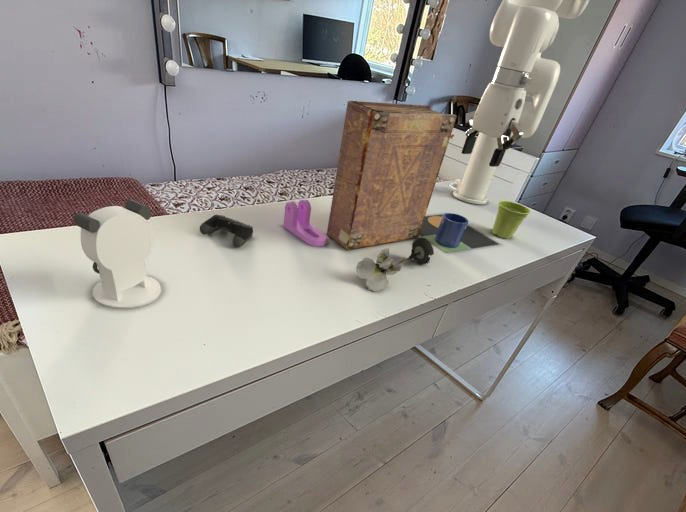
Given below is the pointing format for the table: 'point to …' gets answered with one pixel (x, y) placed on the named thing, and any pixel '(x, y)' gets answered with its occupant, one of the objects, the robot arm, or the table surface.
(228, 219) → the gaming controller
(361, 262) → the artificial flower
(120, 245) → the white rounded piece
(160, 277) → the table surface
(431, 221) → the desk mat
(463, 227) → the blue cup
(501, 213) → the plant pot
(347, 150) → the book
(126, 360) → the table surface
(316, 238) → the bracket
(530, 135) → the robot arm
